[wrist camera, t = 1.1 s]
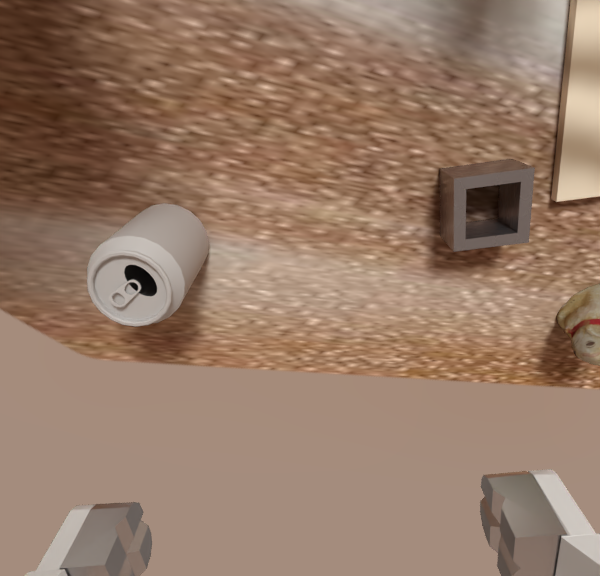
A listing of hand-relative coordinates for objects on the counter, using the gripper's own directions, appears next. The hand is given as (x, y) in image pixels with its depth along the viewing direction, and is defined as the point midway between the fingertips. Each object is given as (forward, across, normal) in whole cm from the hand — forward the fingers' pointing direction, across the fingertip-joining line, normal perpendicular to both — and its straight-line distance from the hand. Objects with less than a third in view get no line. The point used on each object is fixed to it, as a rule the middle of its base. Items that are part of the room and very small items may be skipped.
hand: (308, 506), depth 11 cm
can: (+34, +14, +2) cm, 37 cm away
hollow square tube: (+34, -15, +2) cm, 37 cm away
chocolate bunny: (+35, -27, +15) cm, 47 cm away
